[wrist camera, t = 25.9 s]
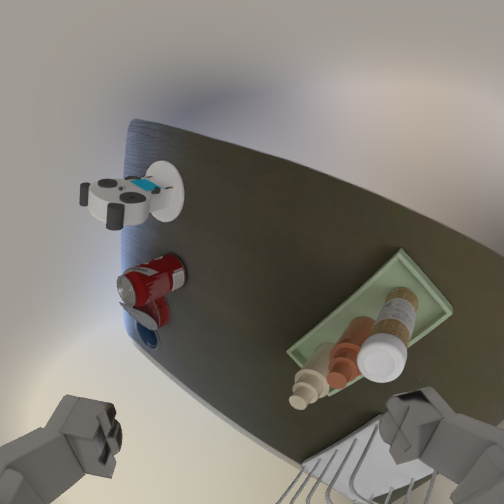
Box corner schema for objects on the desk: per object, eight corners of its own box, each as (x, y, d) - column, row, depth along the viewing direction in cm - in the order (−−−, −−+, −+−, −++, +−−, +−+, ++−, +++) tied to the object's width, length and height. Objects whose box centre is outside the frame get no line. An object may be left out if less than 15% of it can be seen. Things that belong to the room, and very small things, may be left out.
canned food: (182, 293, 66) (167, 323, 57) (167, 321, 70) (153, 350, 62) (138, 268, 64) (118, 294, 55) (127, 298, 69) (108, 324, 60)
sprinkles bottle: (395, 324, 36) (368, 389, 25) (378, 295, 36) (346, 353, 26) (425, 310, 33) (411, 375, 22) (409, 279, 33) (390, 335, 23)
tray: (401, 247, 34) (399, 252, 32) (452, 306, 31) (452, 313, 30) (291, 345, 47) (285, 351, 45) (333, 389, 44) (329, 396, 43)
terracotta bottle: (387, 325, 36) (365, 375, 28) (372, 353, 38) (347, 404, 30) (354, 310, 39) (324, 354, 30) (342, 338, 41) (309, 384, 32)
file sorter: (380, 411, 40) (345, 487, 28) (446, 458, 35) (425, 531, 22) (303, 460, 53) (264, 511, 41) (359, 497, 48) (329, 550, 35)
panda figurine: (192, 173, 49) (114, 184, 37) (180, 233, 54) (110, 256, 42) (149, 153, 53) (79, 160, 42) (141, 207, 59) (76, 223, 47)
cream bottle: (351, 351, 40) (321, 400, 32) (339, 374, 42) (308, 422, 34) (321, 336, 43) (285, 380, 34) (311, 360, 45) (275, 404, 36)
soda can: (192, 267, 55) (139, 290, 45) (183, 293, 58) (135, 317, 49) (168, 245, 57) (116, 264, 47) (161, 271, 60) (113, 292, 51)
